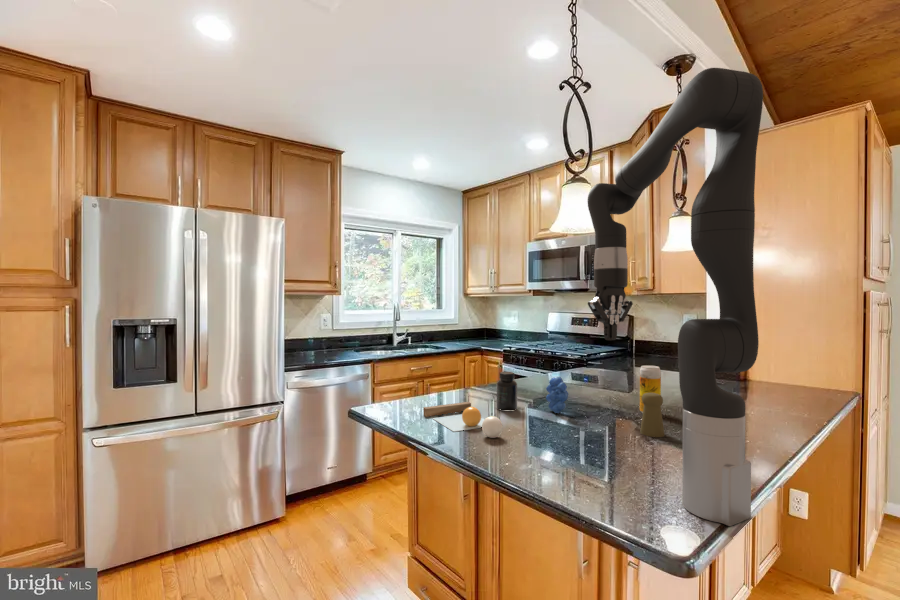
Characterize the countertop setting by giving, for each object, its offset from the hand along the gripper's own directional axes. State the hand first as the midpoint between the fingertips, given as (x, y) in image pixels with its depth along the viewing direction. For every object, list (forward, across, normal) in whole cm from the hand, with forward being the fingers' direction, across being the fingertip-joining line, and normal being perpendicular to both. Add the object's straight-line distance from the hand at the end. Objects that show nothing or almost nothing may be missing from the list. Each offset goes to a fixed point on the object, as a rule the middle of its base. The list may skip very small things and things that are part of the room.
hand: (610, 340), depth 101 cm
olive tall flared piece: (+27, +21, +5) cm, 35 cm away
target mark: (+27, -20, +37) cm, 50 cm away
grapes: (+27, +12, +32) cm, 44 cm away
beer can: (+27, +38, +19) cm, 50 cm away
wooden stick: (+27, -20, +48) cm, 58 cm away
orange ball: (+24, -20, +33) cm, 45 cm away
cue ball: (+24, -20, +22) cm, 38 cm away
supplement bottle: (+27, 0, +44) cm, 52 cm away
